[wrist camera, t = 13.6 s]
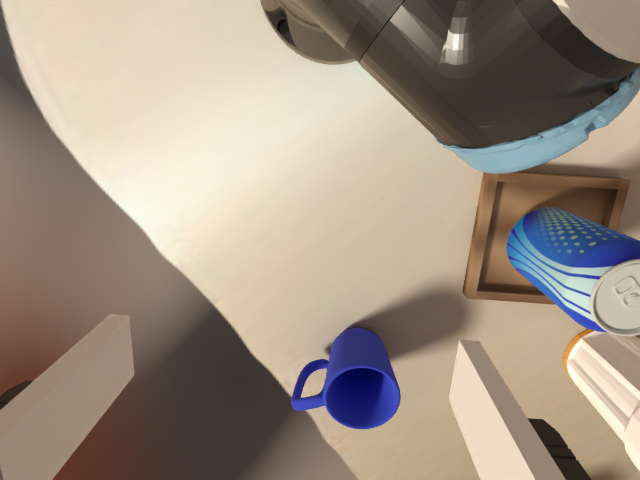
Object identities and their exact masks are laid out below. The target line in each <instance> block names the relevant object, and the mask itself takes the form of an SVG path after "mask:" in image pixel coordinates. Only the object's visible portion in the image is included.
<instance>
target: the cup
mask: <svg viewBox="0 0 640 480" xmlns="http://www.w3.org/2000/svg"><path fill="white" fill-rule="evenodd" d="M564 365H565V370H566V371H567V373H568V375H569V376H570V377H571V379H572V380H573V381H574V382H575V384H576V385H577V386H578V387H579V389H580V390H581V391H582V392H583V393H584V395H585V396H586V397H587V398H588V400H589V401H590V402H591V403H592V404H593V406H594V407H595V408H596V409H597V410H598V412H599V413H600V414H601V415H602V417H603V418H604V419H605V420H606V421H607V423H608V424H609V425H610V426H611V427H612V429H613V430H614V431H615V432H616V434H617V435H618V436H619V437H620V438H621V440H622V441H623V442H624V443H625V451H626V452H627V454H628V455H629V457H630V458H631V460H632V461H633V463H634V464H635V466H636V467H637V468H638V469H639V471H640V339H639V338H638V337H636V336H619V335H614V334H611V333H608V332H598V331H594V330H591V329H587V330H585V331H584V332H582V333H580V334H578V335H577V336H576V337H575V338H574V339H573V341H572V342H571V343H570V344H569V346H568V348H567V350H566V353H565V356H564Z"/></svg>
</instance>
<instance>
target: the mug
mask: <svg viewBox="0 0 640 480" xmlns="http://www.w3.org/2000/svg"><path fill="white" fill-rule="evenodd" d="M323 368H327V374H326V380H325V384H324V387H323V389H322V391H321V392H320V393H319V394H317V395H314V396H310V397H305V398H301V394H302V390H303V387H304V384H305V382H306V380H307V378H308V376H309V375H310V374H311V373H313V372H314V371H316V370H319V369H323ZM291 402H292V406H293V409H294V410H296V411H300V410H308V409H313V408H318V407H321V406H324V405H325V406H326V408H327V411H328V412H329V414H330V415H331V416H332V417H333V418H334V419H335V420H336V421H338V422H339V423H341V424H343V425H345V426H347V427H350V428H354V429H370V428H374V427H377V426H380V425H382V424H384V423H385V422H387V421H388V420H389V419H390V418H392V417H393V415H394V414H395V413H396V411H397V409H398V407H399V404H400V389H399V386H398V383H397V380H396V377H395V375H394V372H393V369H392V366H391V363H390V360H389V358H388V355H387V352H386V349H385V346H384V344H383V342H382V341H381V339H380V338H379V337H378V336H377V335H376V334H375V333H373V332H372V331H370V330H367V329H364V328H352V329H349V330H346V331H344V332H343V333H341V334H340V335H339V336H338V337H337V338H336V339H335V341H334V343H333V345H332V348H331V353H330V358H329V361H327V360H325V359H320V360H315V361H312V362H310V363H309V364H307V365H306V366H305V367H304V368H303V370H302V371H301V373H300V375H299V377H298V380H297V382H296V385H295V388H294V392H293V396H292V401H291Z"/></svg>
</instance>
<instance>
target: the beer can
mask: <svg viewBox="0 0 640 480" xmlns="http://www.w3.org/2000/svg"><path fill="white" fill-rule="evenodd" d="M506 251H507V256H508V259H509V261H510V263H511V265H512V266H513V267H514V268H515V269H516V270H517V271H518V272H519V273H520V274H521V275H523V276H524V277H525V278H526V279H527V280H528V281H530V282H531V283H532V284H533V285H534V286H535V287H537V288H538V289H539V290H540V291H541V292H542V293H543V294H545V295H546V296H547V297H548V298H549V299H550V300H552V301H553V302H554V303H555V304H556V305H557V306H559V307H560V308H561V309H562V310H563V311H564V312H565V313H567V314H568V315H569V316H570V317H571V318H572V319H574V320H575V321H576V322H577V323H579V324H580V325H582V326H584V327H586V328H588V329H591V330H594V331H598V332H608V333H611V334H614V335H619V336H635V335H640V241H639V240H636V239H634V238H631V237H629V236H627V235H624V234H622V233H619V232H617V231H615V230H612V229H610V228H607V227H605V226H602V225H600V224H598V223H595V222H593V221H590V220H588V219H585V218H583V217H581V216H578V215H576V214H573V213H571V212H569V211H566V210H564V209H560V208H555V207H545V208H540V209H536V210H533V211H531V212H529V213H527V214H526V215H524V216H523V217H522V218H520V219H519V220H518V221H517V222H516V223H515V225H514V226H513V228H512V229H511V231H510V233H509V235H508V239H507V243H506Z"/></svg>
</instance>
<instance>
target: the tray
mask: <svg viewBox="0 0 640 480" xmlns="http://www.w3.org/2000/svg"><path fill="white" fill-rule="evenodd" d="M629 184H630V180H625V179H621V178H608V177H592V176H577V175H561V174H545V173H530V172H512V173H505V174H492V173H485V172H484V173H483V179H482V184H481V190H480V196H479V201H478V207H477V213H476V219H475V224H474V230H473V236H472V241H471V247H470V253H469V258H468V264H467V270H466V275H465V281H464V287H463V293H464V295H465V296H466V297H467V298H471V299H485V300H499V301H513V302H527V303H542V304H555V303H554V302H553V301H552V300H550V299H549V298H548V297H547V296H546V295H545V294H543V293H542V292H541V291H540V290H539V289H538V288H537V287H535V286H534V285H533V284H532V283H531V282H530V281H528V280H527V279H526V278H525V277H524V276H523V275H521V274H520V273H519V272H518V271H517V270H516V269H515V268H514V267H513V266H512V265H511V263H510V261H509V259H508V256H507V251H506V243H507V239H508V235H509V233H510V231H511V229H512V228H513V226H514V225H515V223H516V222H517V221H518V220H519V219H520V218H522V217H523V216H524V215H526V214H527V213H529V212H531V211H533V210H536V209H540V208H545V207H555V208H560V209H564V210H566V211H569V212H571V213H573V214H576V215H578V216H581V217H583V218H585V219H588V220H590V221H593V222H595V223H598V224H600V225H602V226H605V227H607V228H610V229H612V230H615V231H616V230H617V227H618V223H619V220H620V216H621V213H622V209H623V206H624V202H625V198H626V195H627V191H628V188H629Z"/></svg>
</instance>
